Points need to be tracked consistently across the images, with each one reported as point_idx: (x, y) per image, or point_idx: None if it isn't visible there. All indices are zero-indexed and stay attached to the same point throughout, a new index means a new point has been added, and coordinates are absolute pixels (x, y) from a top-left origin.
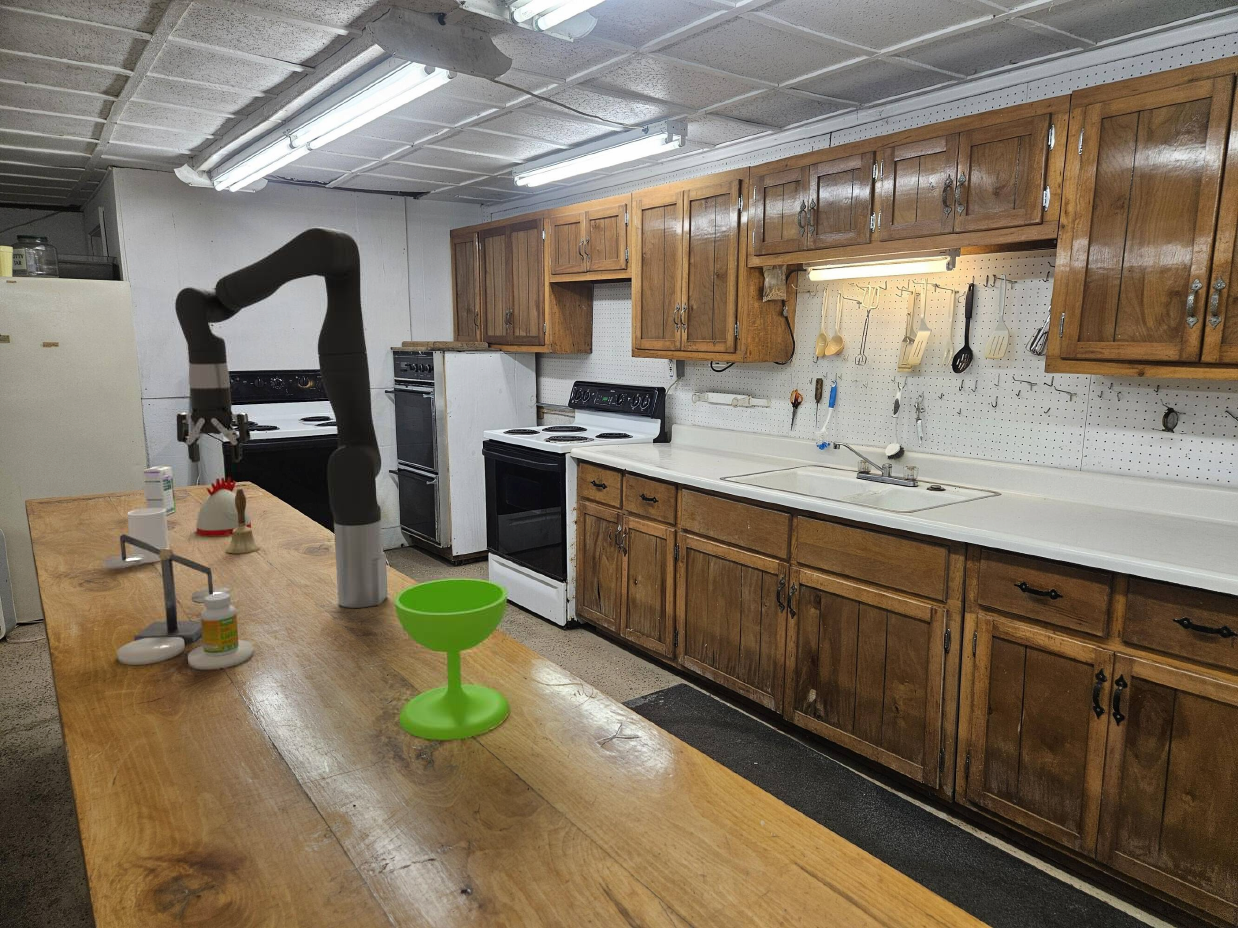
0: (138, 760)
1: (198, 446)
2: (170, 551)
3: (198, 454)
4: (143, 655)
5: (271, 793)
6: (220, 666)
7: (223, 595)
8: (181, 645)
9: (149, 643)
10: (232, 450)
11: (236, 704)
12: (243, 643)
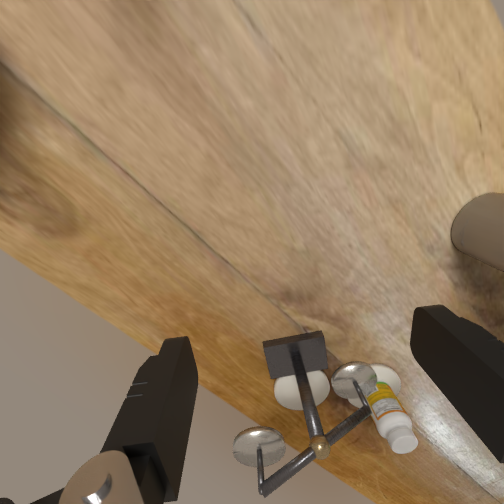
0: (387, 484)
1: (162, 426)
2: (329, 452)
3: (180, 376)
4: None
5: (469, 493)
6: None
7: (410, 441)
8: (329, 385)
9: (295, 385)
10: (472, 417)
11: (417, 437)
12: (387, 374)
